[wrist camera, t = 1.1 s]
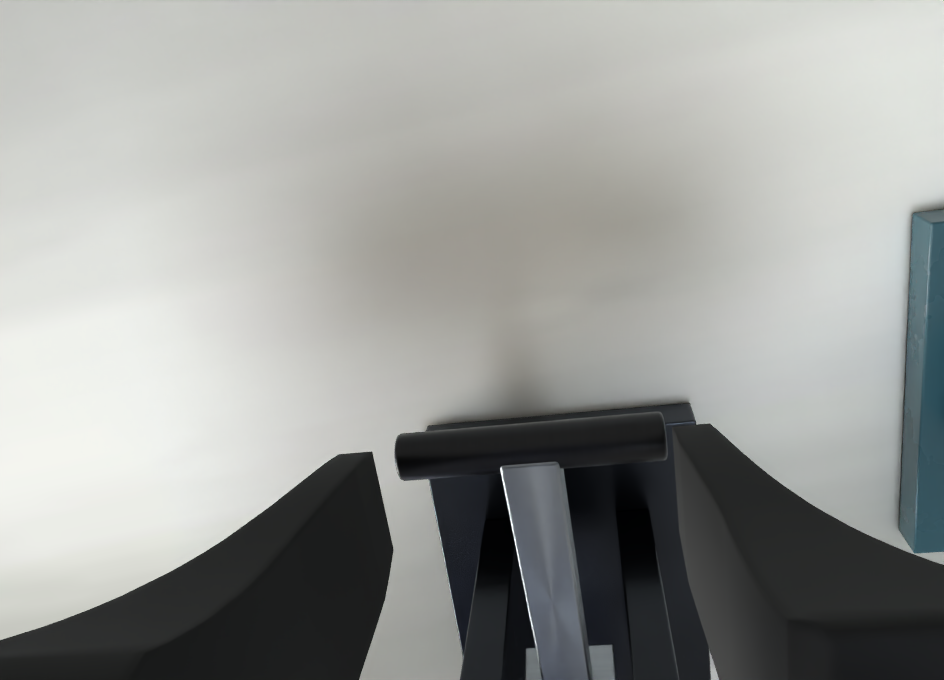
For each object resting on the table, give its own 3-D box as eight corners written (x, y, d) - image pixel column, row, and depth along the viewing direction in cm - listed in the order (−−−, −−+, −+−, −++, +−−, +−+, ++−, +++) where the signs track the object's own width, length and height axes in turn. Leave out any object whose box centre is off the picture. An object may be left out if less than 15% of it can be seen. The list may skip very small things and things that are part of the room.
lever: (403, 400, 16) (384, 483, 14) (655, 377, 16) (672, 461, 14) (487, 713, 22) (482, 803, 20) (674, 707, 22) (688, 800, 20)
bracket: (427, 424, 25) (364, 617, 17) (690, 402, 24) (754, 597, 16) (474, 675, 29) (440, 932, 21) (705, 665, 28) (765, 935, 20)
